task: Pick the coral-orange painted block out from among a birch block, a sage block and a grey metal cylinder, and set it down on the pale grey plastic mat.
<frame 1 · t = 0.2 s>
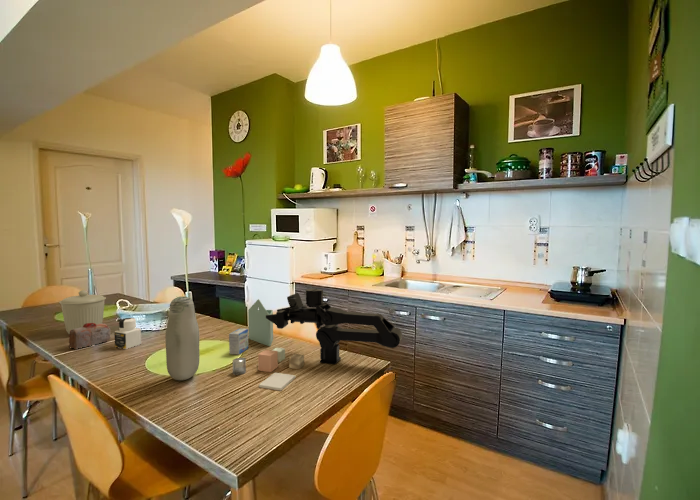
hand: (271, 313, 137), 17 cm above the table, tool horizontal, fingers open, 9 cm apart
medicine box: (239, 351, 141), on the table
medicine bottle: (128, 346, 148), on the table
sage block: (278, 359, 132), on the table
coral block: (268, 368, 123), on the table
food item: (90, 345, 149), on the table
canister: (84, 333, 166), on the table
grey squeeze bottle: (183, 378, 115), on the table
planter: (265, 340, 156), on the table
grey mat: (277, 382, 112), on the table
birch block: (296, 366, 126), on the table
grey metal cylinder: (239, 372, 120), on the table
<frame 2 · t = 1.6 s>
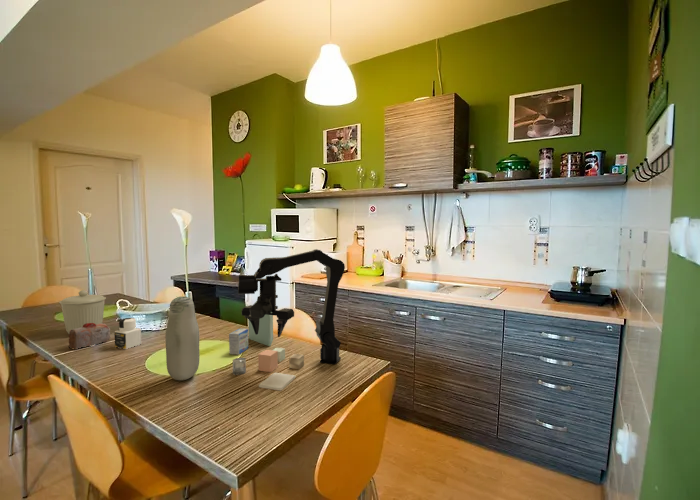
hand: (267, 335, 123), 12 cm above the table, tool pointing down, fingers open, 9 cm apart
nothing on the table moved.
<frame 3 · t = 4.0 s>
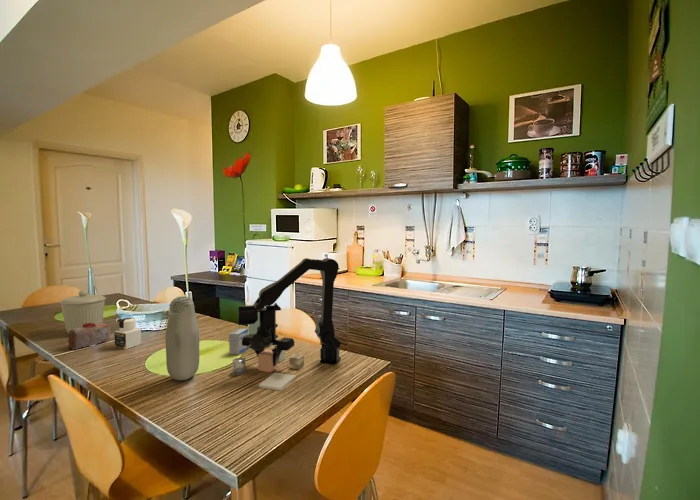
hand: (268, 364, 123), 1 cm above the table, tool pointing down, fingers closed on coral block, 5 cm apart
coral block: (268, 368, 123), on the table, touching gripper
everything else where it was.
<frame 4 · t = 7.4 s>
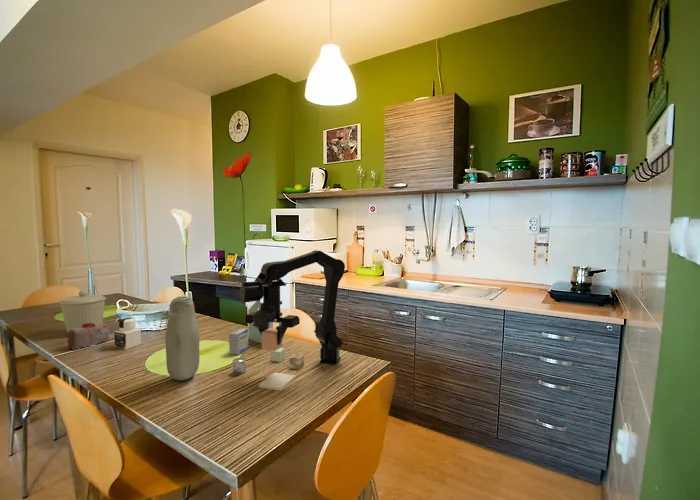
hand: (272, 343, 117), 11 cm above the table, tool pointing down, fingers closed on coral block, 5 cm apart
coral block: (272, 347, 117), point 10 cm above the table, touching gripper
everything else where it was.
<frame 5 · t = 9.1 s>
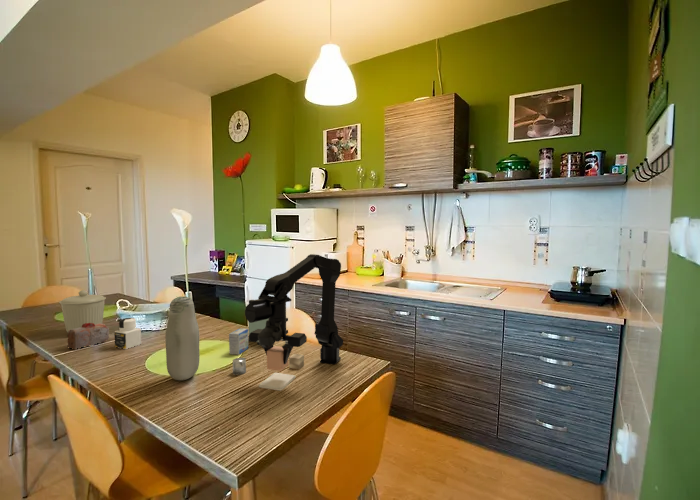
hand: (277, 363, 112), 7 cm above the table, tool pointing down, fingers closed on coral block, 5 cm apart
coral block: (277, 367, 112), point 5 cm above the table, touching gripper
everything else where it was.
when the fingers open (3 cm above the table, at t = 10.7 s): coral block drops 1 cm, resting on grey mat.
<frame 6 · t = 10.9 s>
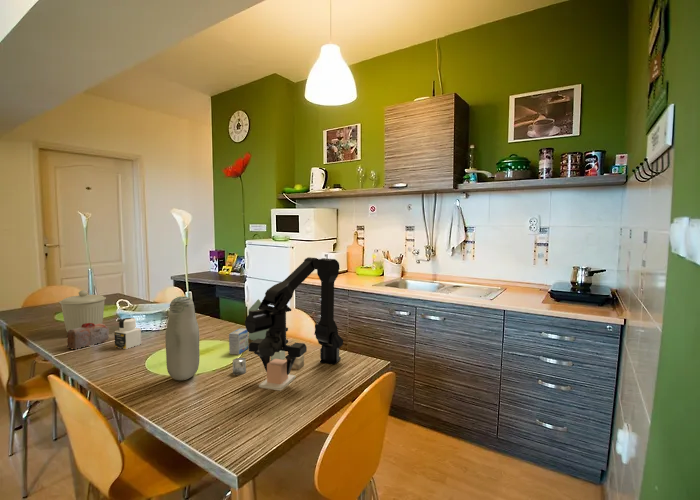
hand: (277, 372, 112), 3 cm above the table, tool pointing down, fingers open, 7 cm apart
coral block: (277, 379, 112), point 1 cm above the table, touching grey mat
everything else where it was.
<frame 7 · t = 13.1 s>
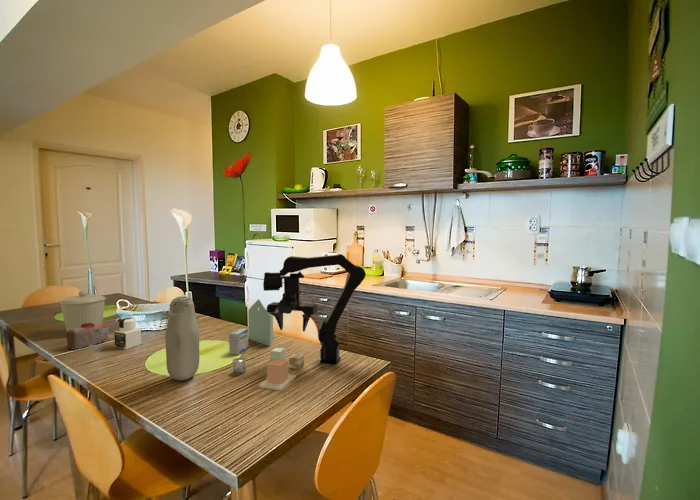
hand: (292, 330, 129), 12 cm above the table, tool pointing down, fingers open, 9 cm apart
nothing on the table moved.
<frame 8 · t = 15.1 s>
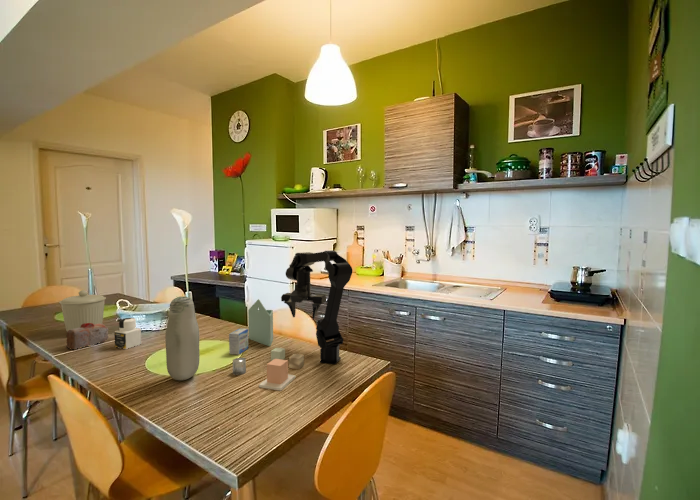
hand: (303, 318, 145), 13 cm above the table, tool pointing down, fingers open, 9 cm apart
nothing on the table moved.
at the end: coral block 0.0 cm off-centre on the grey mat, point 0.8 cm above the grey mat's base; coral block tilted 0°; the gripper is holding nothing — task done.
